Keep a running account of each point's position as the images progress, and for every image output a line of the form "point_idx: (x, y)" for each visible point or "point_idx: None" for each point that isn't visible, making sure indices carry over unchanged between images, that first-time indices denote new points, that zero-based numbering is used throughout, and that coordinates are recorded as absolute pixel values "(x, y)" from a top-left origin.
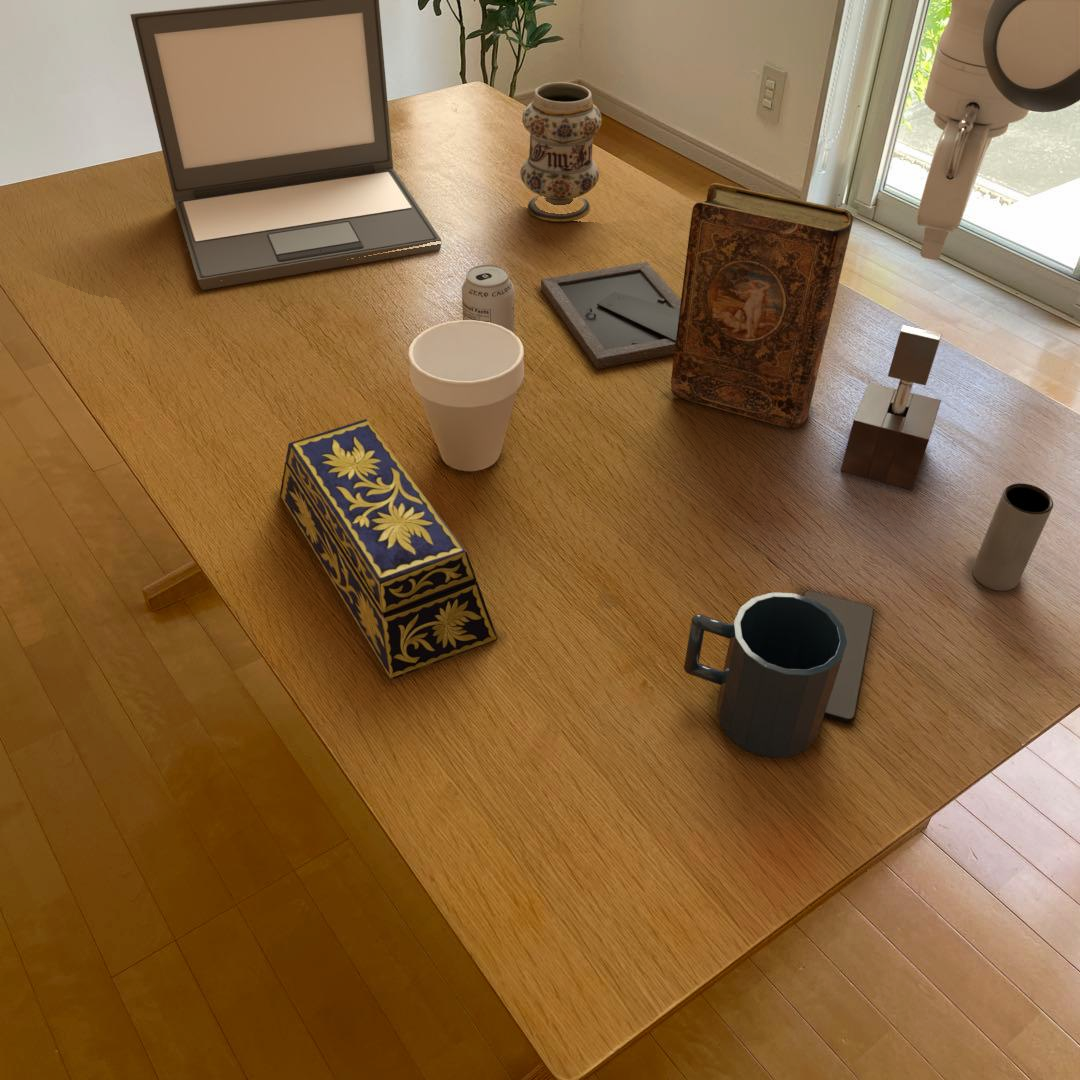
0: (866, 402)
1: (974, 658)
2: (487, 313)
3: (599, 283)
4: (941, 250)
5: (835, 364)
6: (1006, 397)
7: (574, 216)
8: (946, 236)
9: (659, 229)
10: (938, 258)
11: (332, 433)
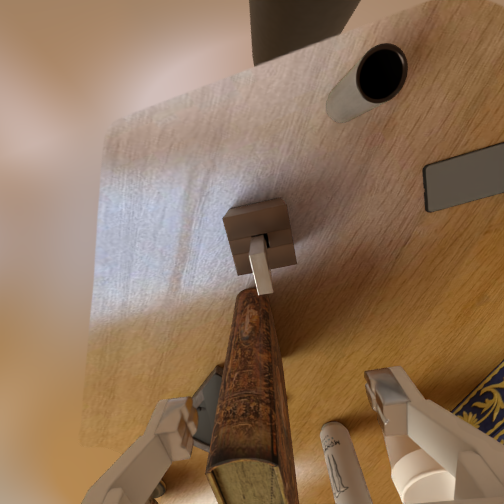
0: None
1: (442, 81)
2: (369, 496)
3: (208, 439)
4: (411, 381)
5: (175, 300)
6: (118, 182)
7: None
8: (464, 422)
9: (119, 441)
10: (399, 366)
11: None
